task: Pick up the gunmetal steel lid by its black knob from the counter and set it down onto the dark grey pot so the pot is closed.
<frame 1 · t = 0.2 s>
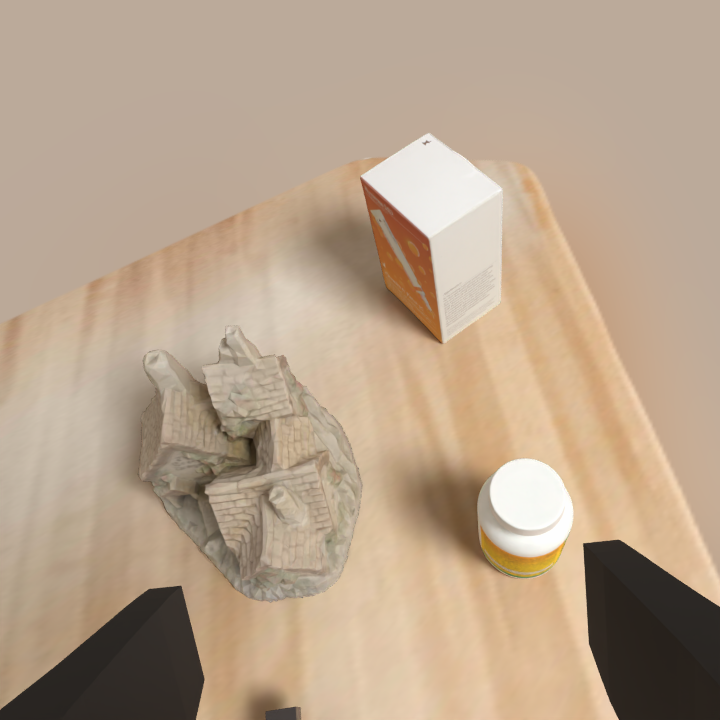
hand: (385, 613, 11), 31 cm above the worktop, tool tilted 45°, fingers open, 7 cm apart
supplement bottle: (520, 540, 41), on the worktop
ceramic cottage: (256, 492, 46), on the worktop
small box: (442, 297, 52), on the worktop
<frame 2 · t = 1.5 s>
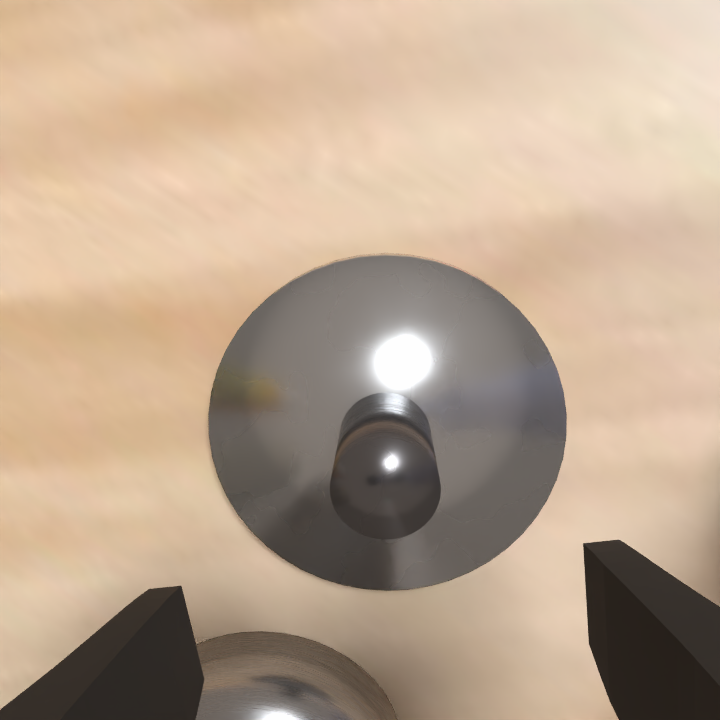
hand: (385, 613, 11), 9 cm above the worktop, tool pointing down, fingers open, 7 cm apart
lid: (385, 423, 20), on the worktop
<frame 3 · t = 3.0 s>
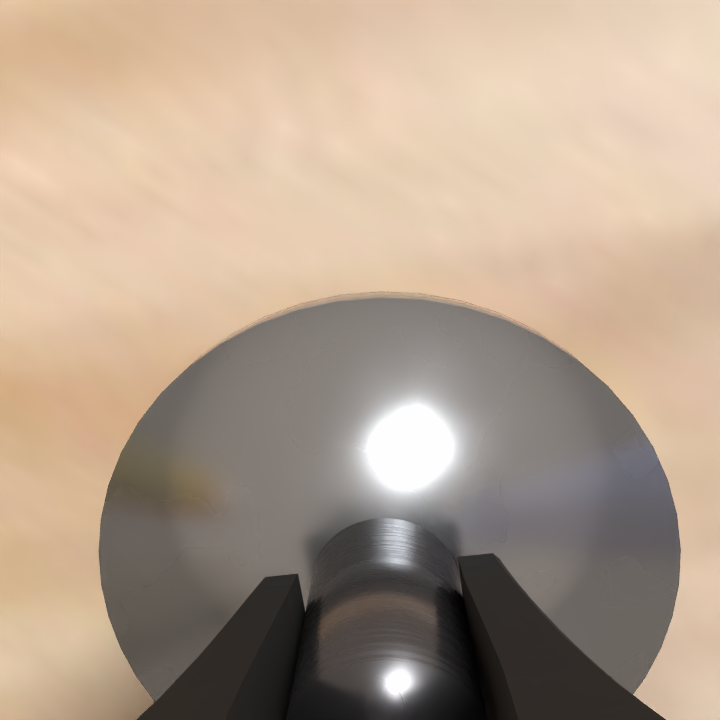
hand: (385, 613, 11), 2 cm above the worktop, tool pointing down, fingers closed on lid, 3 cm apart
lid: (384, 554, 13), on the worktop, touching gripper
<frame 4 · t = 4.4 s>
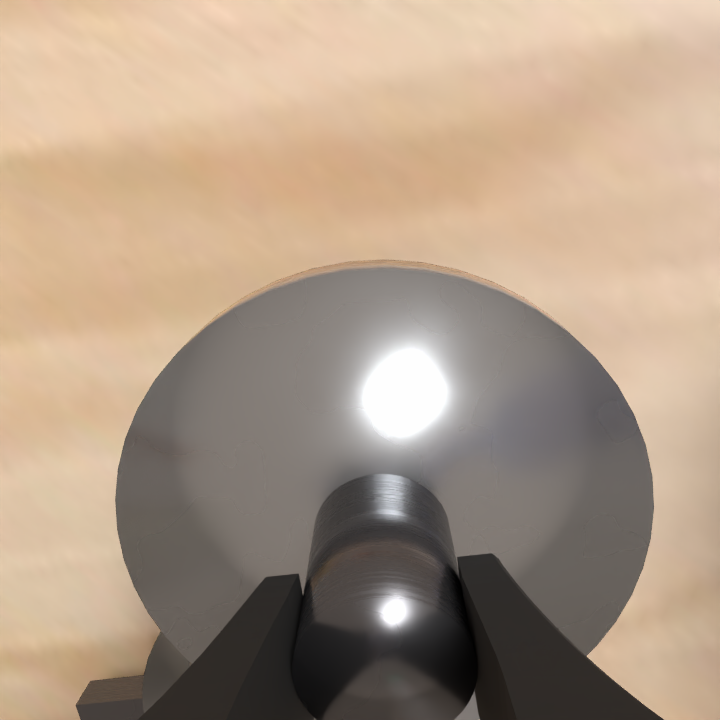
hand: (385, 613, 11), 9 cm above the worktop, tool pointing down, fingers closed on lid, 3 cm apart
lid: (381, 507, 14), point 7 cm above the worktop, touching gripper
pot: (315, 632, 22), on the worktop
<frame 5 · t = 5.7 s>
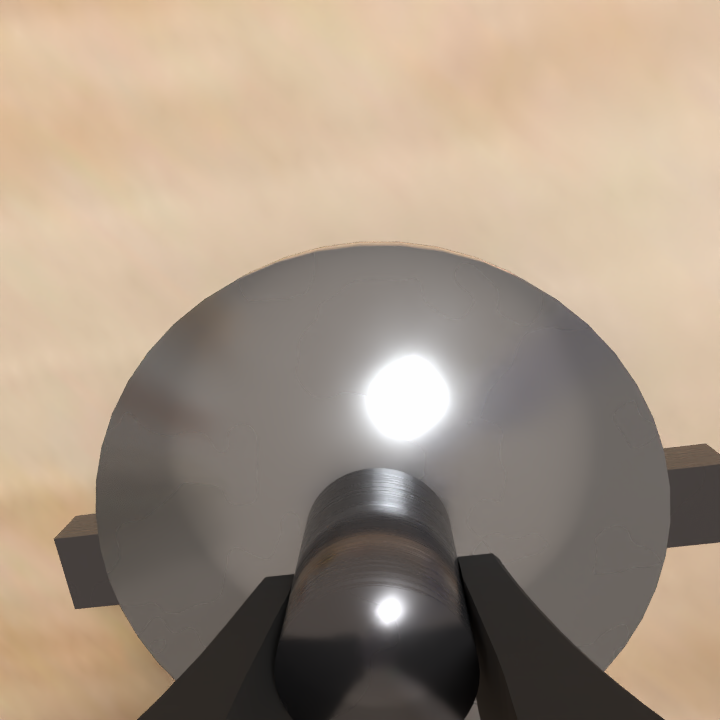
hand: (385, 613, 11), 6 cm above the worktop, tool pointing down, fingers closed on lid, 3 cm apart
lid: (378, 509, 13), point 3 cm above the worktop, touching gripper, pot
pot: (384, 473, 16), on the worktop
when the fingers open (6 cm above the worktop, at t = 6.2 s): lid stays where it is, resting on pot.
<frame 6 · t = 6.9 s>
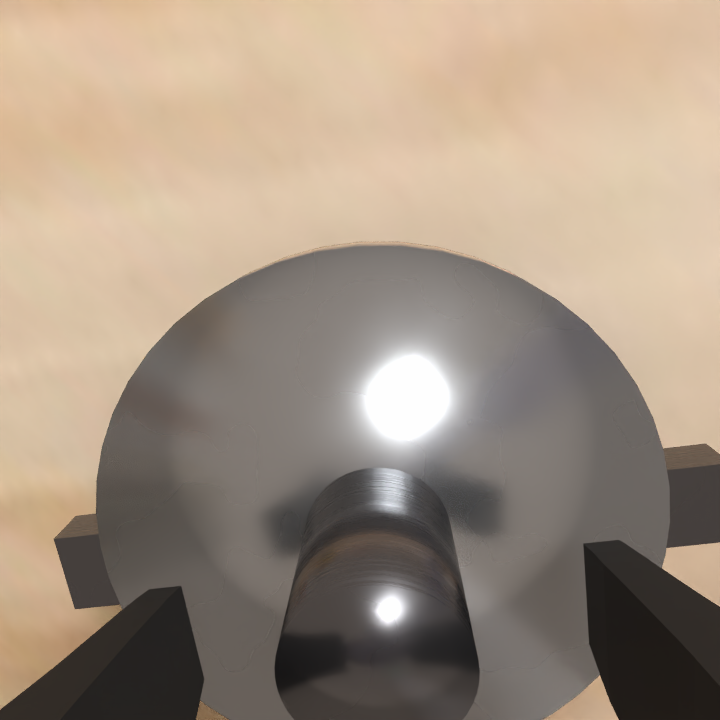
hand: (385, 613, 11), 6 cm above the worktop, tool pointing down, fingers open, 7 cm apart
lid: (378, 508, 13), point 3 cm above the worktop, touching pot
pot: (384, 473, 16), on the worktop
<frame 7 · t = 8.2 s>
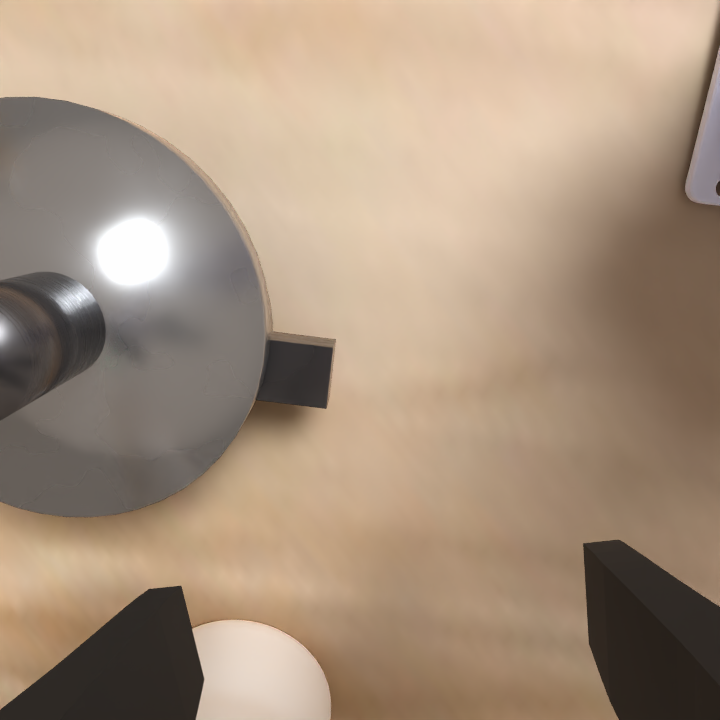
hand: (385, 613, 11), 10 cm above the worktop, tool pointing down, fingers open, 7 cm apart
water bottle: (244, 683, 24), on the worktop
lid: (71, 318, 17), point 3 cm above the worktop, touching pot
pot: (122, 323, 20), on the worktop
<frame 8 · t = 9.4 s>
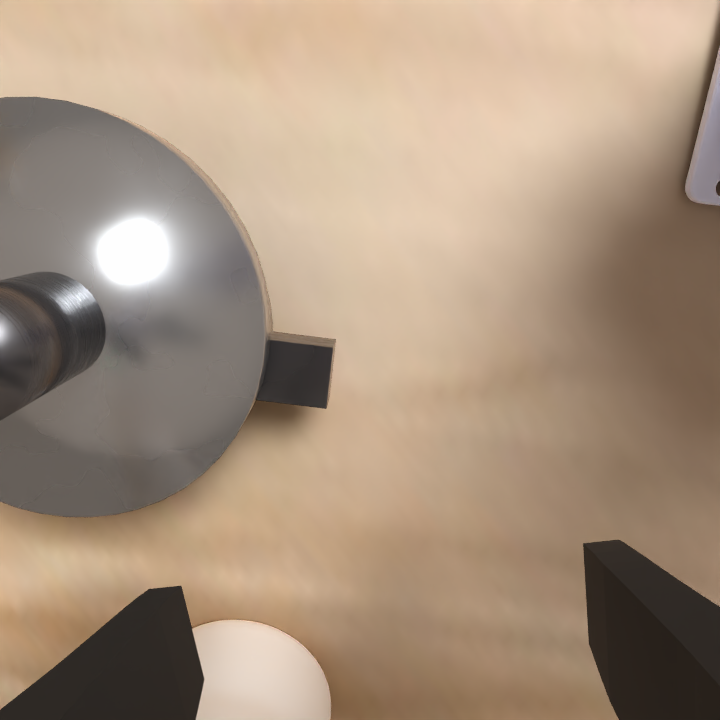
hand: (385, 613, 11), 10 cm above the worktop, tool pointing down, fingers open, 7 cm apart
water bottle: (244, 682, 24), on the worktop
lid: (71, 318, 17), point 3 cm above the worktop, touching pot
pot: (122, 323, 20), on the worktop
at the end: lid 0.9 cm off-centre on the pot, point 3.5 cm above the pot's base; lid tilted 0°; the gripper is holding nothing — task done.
